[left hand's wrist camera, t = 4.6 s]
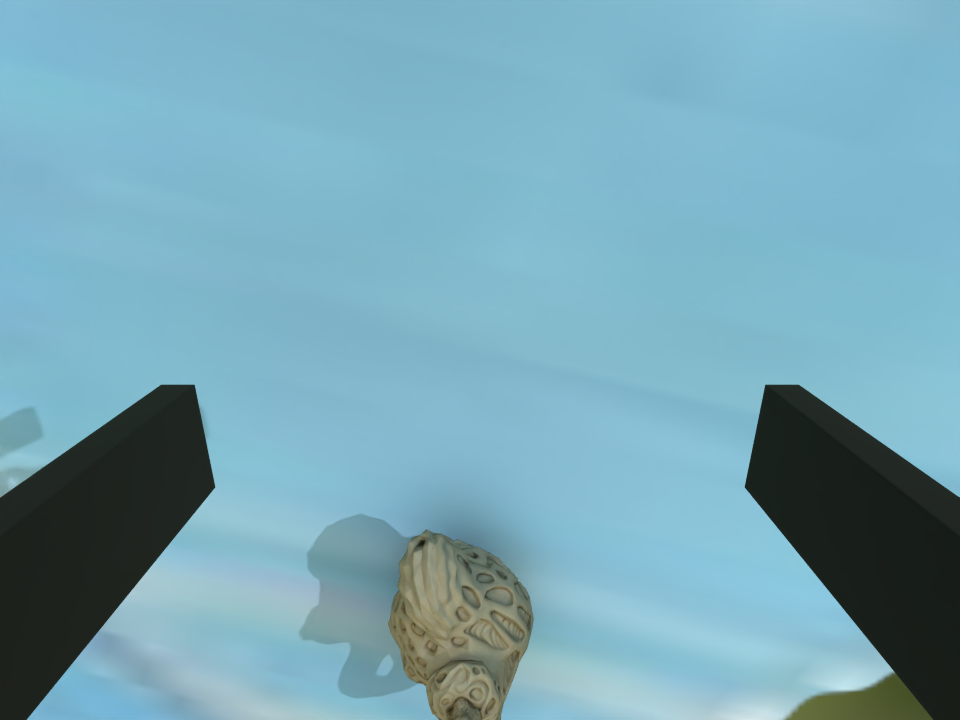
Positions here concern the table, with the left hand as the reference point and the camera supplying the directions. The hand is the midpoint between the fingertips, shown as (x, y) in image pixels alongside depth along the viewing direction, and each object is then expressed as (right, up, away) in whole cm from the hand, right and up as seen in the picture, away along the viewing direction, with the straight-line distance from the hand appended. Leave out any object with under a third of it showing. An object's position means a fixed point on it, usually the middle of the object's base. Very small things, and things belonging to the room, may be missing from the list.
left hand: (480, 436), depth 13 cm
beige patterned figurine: (-1, -18, +37) cm, 41 cm away
